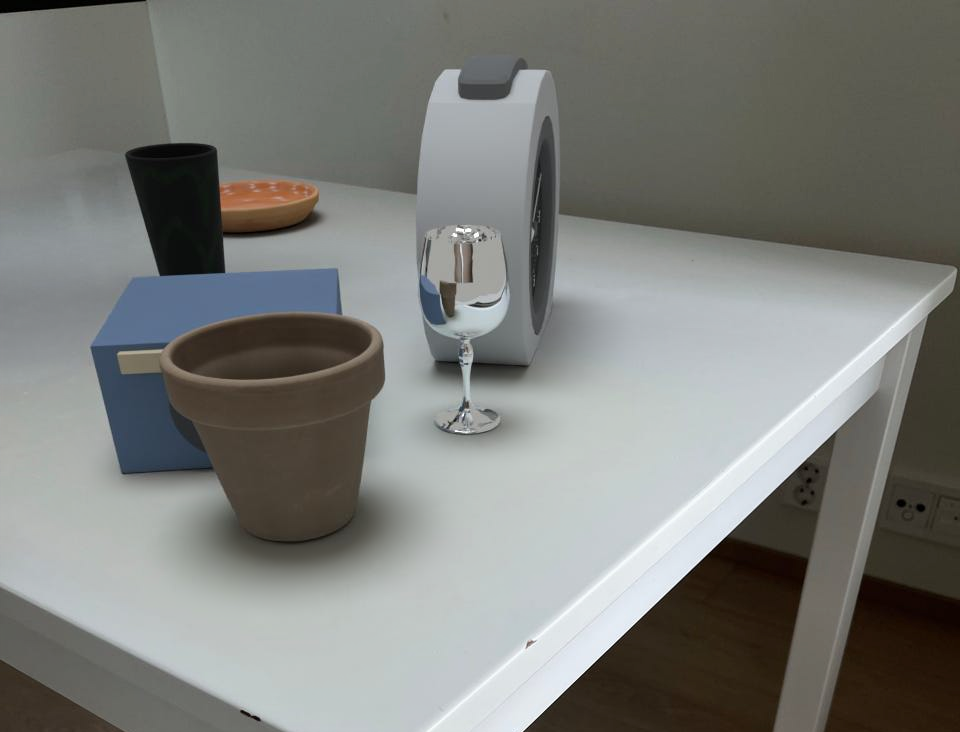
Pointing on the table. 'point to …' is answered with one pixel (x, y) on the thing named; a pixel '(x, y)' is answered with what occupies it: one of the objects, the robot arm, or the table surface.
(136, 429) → the blue tabbed box
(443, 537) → the table surface
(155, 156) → the cup
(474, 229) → the wineglass
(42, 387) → the table surface
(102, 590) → the table surface
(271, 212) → the saucer
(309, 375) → the flower pot
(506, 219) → the alarm clock
